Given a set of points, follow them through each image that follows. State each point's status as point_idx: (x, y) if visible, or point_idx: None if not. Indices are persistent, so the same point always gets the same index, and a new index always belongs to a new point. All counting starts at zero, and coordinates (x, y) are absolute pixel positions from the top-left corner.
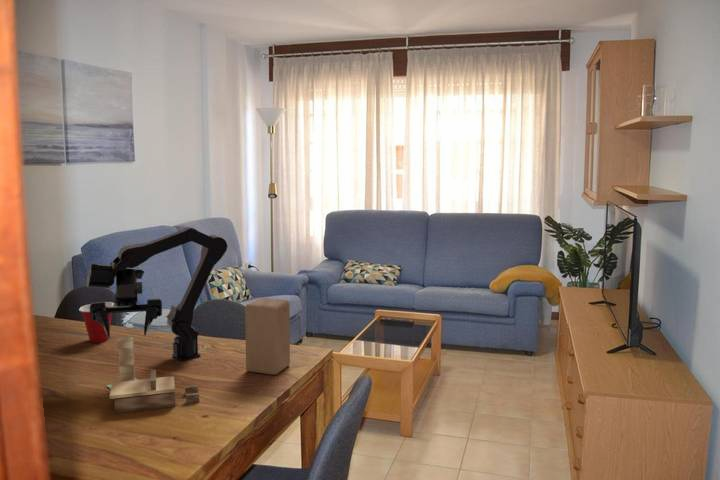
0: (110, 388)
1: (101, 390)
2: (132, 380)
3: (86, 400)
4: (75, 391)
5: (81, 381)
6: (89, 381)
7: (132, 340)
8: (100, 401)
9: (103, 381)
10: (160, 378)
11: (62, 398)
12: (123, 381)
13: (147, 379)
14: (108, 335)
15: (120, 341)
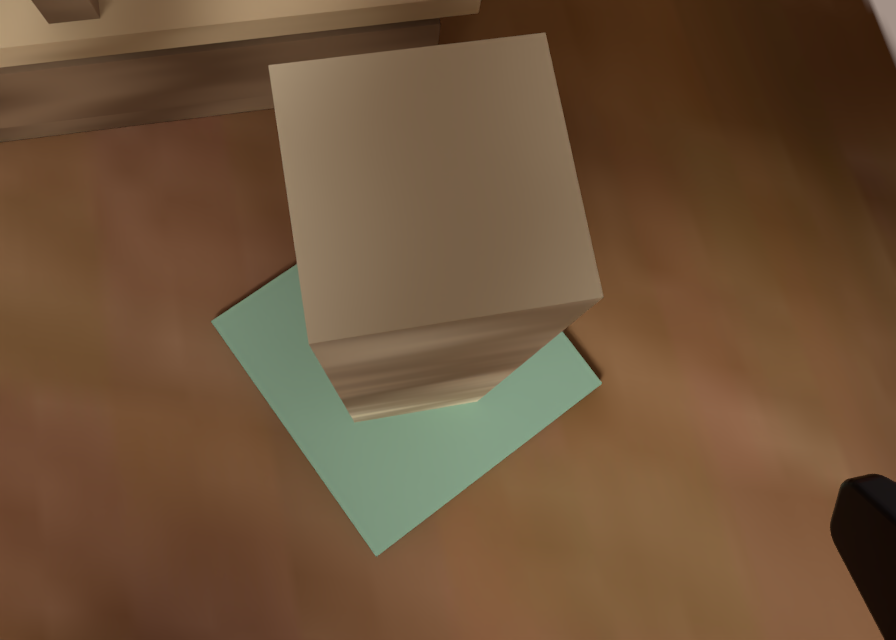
0: None
1: (616, 298)
2: (290, 12)
3: (667, 105)
4: (824, 305)
5: None
6: (796, 540)
7: (277, 114)
8: None
9: (667, 525)
10: (2, 19)
11: (865, 172)
12: (376, 2)
13: (139, 16)
14: (882, 480)
15: (501, 44)
